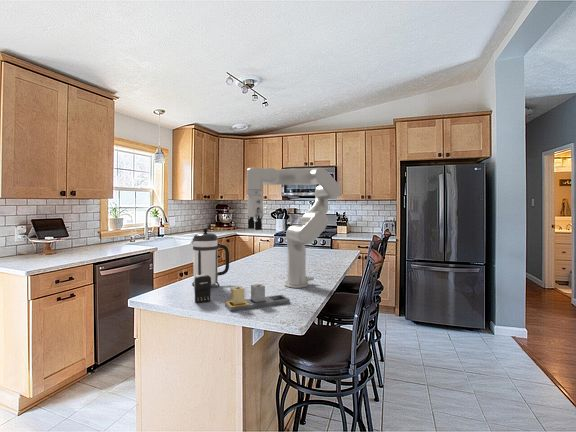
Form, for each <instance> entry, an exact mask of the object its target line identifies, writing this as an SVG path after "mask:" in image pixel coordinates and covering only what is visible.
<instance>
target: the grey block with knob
mask: <svg viewBox="0 0 576 432" xmlns="http://www.w3.org/2000/svg"><path fill="white" fill-rule="evenodd" d="M265 297H266V286H265V285H263V284H262V283H259V284H251V285H250V299H251V302H253V303H261V302H265Z"/></svg>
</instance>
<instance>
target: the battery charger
mask: <svg viewBox="0 0 576 432" xmlns="http://www.w3.org/2000/svg"><path fill="white" fill-rule="evenodd" d="M193 282H194V286H193V291H194V302H195V303H206V302H210V301H211V292H212V291H211V287H212V285H211V277H210V276H209V275H198V276H196V277H195V279H194V278H193Z"/></svg>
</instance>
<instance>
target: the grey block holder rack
mask: <svg viewBox="0 0 576 432" xmlns="http://www.w3.org/2000/svg"><path fill="white" fill-rule="evenodd" d="M290 301H291V299H290V298H288V297H287V296H286V295H283V294H276V295H269V296H265V302H261V303H253V302H251V298H244V304H243V305H236V306H232V305H231V300H229V301H225V302H224V307H226V308H227V310H228V311H229V312H238V311H244V310H251V309H258V308H265V307H272V306H279V305H285V304H286V305H287V304H290V303H291V302H290Z"/></svg>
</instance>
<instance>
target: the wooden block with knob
mask: <svg viewBox="0 0 576 432" xmlns="http://www.w3.org/2000/svg"><path fill="white" fill-rule="evenodd" d="M244 300H245V287H243V286H231V287H230V300H229V301H231V305H232V306H236V305H243V304H244Z"/></svg>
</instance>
